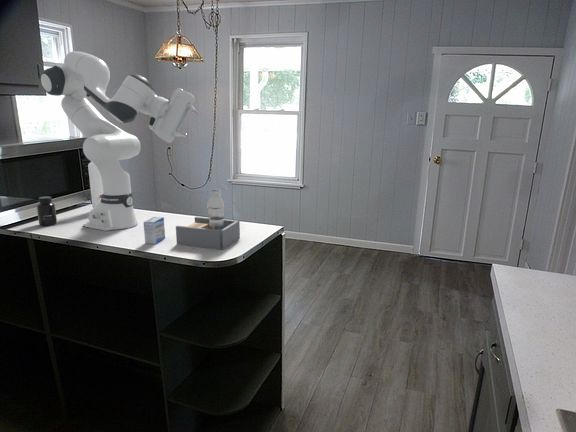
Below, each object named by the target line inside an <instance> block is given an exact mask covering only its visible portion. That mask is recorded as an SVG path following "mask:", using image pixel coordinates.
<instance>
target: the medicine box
mask: <svg viewBox="0 0 576 432" xmlns="http://www.w3.org/2000/svg"><path fill="white" fill-rule="evenodd" d="M165 230H166V229H165V218H164V216H153V217H150V218H149V219H147V220H145V221H143V232H144V233H143V234H144V244H147V245H148V244H150V245H158V243H160V242H162V241H163V240H165V239H166V231H165Z"/></svg>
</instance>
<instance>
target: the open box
mask: <svg viewBox="0 0 576 432" xmlns="http://www.w3.org/2000/svg"><path fill="white" fill-rule="evenodd" d="M194 223H204V224H208V227H209V217H205V216H204V217H203V216H195V217H194ZM187 226H188V225H187ZM187 226H185V225H175V235H176V245H180V246H187V247H197V248H206V249H215V250H225V249H227V247H229V246H230V245H232V244H233V243H234V242H237V240H239V239H240V238H241V232H240V229H241V228H240V226H241V222H240V220H233V219H225V218H224V229H222V230H216V229H207V228H197V227H187Z"/></svg>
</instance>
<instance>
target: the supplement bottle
mask: <svg viewBox="0 0 576 432" xmlns="http://www.w3.org/2000/svg"><path fill="white" fill-rule="evenodd" d="M36 210H37V219H38V225H39V226H41V227H51V226H55V225H56V224H57V223H58V219H57V210H56V204H55V203H54V202H53V199H52V196H48V195H47V196H40V197H38V204H37V206H36Z"/></svg>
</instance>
